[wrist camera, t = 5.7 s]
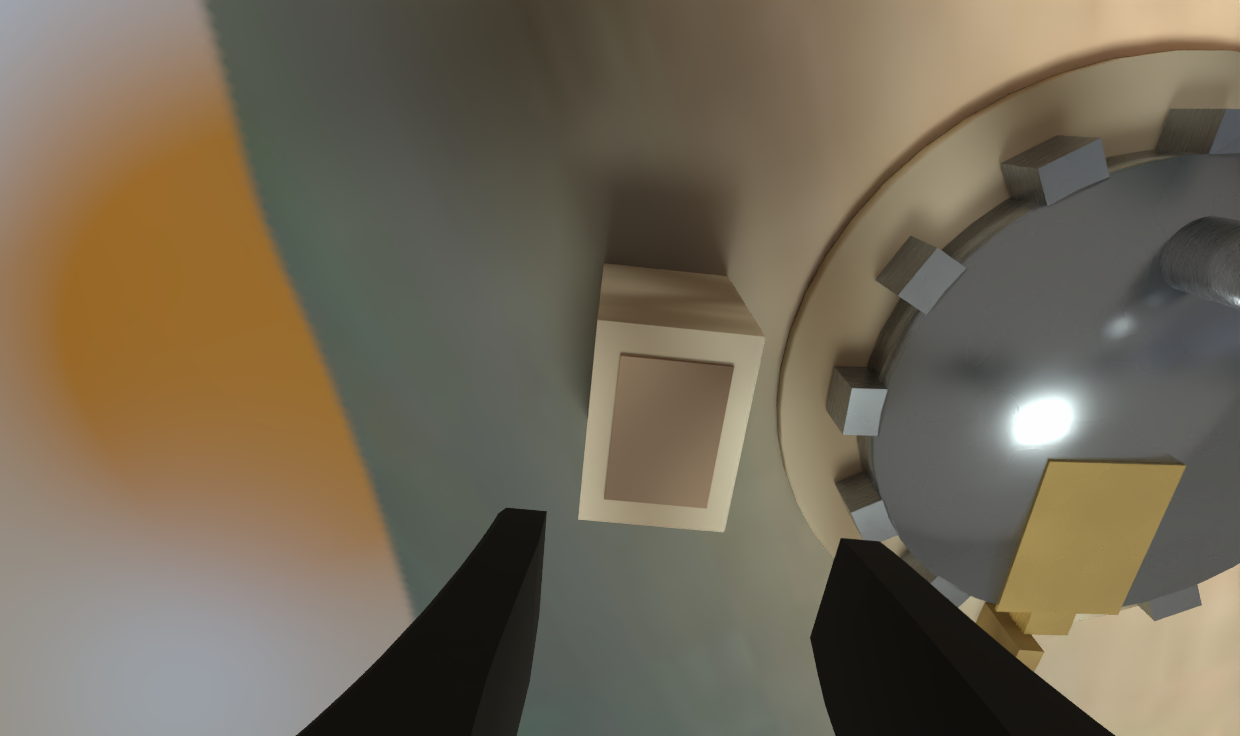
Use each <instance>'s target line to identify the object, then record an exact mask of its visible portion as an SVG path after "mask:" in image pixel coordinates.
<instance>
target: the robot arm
mask: <svg viewBox="0 0 1240 736" xmlns="http://www.w3.org/2000/svg"><path fill="white" fill-rule="evenodd" d="M546 514H547V511H537V510H526V509H515V508H505V509H504V510H503V511H501V512H500V513H498V515H497V517H496V518H495V520H494V522H493V523H492V525H491V526H490V528H489V529H488V530H487V532H486V533H485V535H484V536H483V538H482V539H481V540H480V542H479V543H478V545H477V546H476V547H475V549H474V550H473V551H472V553H471V554H470V555H469V556H468V558H467V559H466V560H465V562H464V563H463V564H462V566H461V567H460V568H459V569H458V571H457V572H456V573H455V574H454V575H453V577H452V578H451V579H450V580H449V581H448V583H447V584H446V585H445V586H444V587H443V589H442V590H441V591H440V592H439V593H438V595H437V596H436V597H435V598H434V599H433V600H432V602H431V603H430V604H429V605H428V606H427V607H426V609H425V610H424V611H423V612H422V613H421V614H420V615H419V616H418V617H417V618H416V620H415V621H414V622H413V623H412V624H411V625H410V626H409V627H408V628H407V629H406V630H405V631H404V632H403V633H402V634H401V636H400V637H399V638H398V639H397V640H396V641H395V642H394V643H393V644H392V645H391V646H390V647H389V648H388V649H387V650H386V652H385V653H384V654H383V655H382V656H381V657H380V658H379V659H378V660H377V661H376V662H375V663H374V664H373V665H372V666H371V667H370V668H369V669H368V670H367V671H366V672H365V673H364V674H363V675H362V676H361V677H360V678H359V679H358V680H357V681H356V682H354V683H353V684H352V685H351V687H349V688H348V689H347V690H346V691H345V692H344V693H343V694H342V695H341V696H340V697H339V698H338V699H336V700H335V701H334V702H333V703H332V704H331V705H330V706H329V707H328V708H327V709H325V710H324V711H323V712H322V713H321V714H320V715H319V716H318V717H317V718H316V719H315V720H313V721H312V722H311V723H310V724H309V725H308V726H307V727H306V728H304V729H303V730H302V731H301V732H300V733H299V734H298V735H296V736H517V732H518V727H519V723H520V719H521V715H522V711H523V707H524V703H525V699H526V694H527V690H528V686H529V682H530V675H531V668H532V661H533V655H534V648H535V641H536V634H537V626H538V619H539V610H540V596H541V582H542V569H543V555H544V541H545V528H546ZM810 639H811V644H812V648H813V653H814V658H815V663H816V668H817V672H818V677H819V681H820V685H821V689H822V694H823V698H824V702H825V706H826V709H827V712H828V715H829V718H830V721H831V724H832V727H833V729H834V732H835V735H836V736H1115V735H1114V734H1112V733H1111V732H1110V731H1108V730H1107V729H1106V728H1104V727H1103V726H1102V725H1100V724H1099V723H1098V722H1096V721H1095V720H1094V719H1093V718H1091V717H1090V716H1089V715H1087V714H1086V713H1085V712H1084V711H1082V710H1081V709H1080V708H1079V707H1077V706H1076V705H1075V704H1073V703H1072V702H1071V701H1070V700H1068V699H1067V698H1066V697H1065V696H1063V695H1062V694H1061V693H1060V692H1058V691H1057V690H1056V689H1054V688H1053V687H1052V686H1051V685H1049V684H1048V683H1047V682H1046V681H1044V680H1043V679H1042V678H1041V677H1039V676H1038V675H1037V674H1036V673H1035V672H1033V671H1032V670H1031V669H1030V668H1028V667H1027V666H1026V665H1025V664H1024V663H1022V662H1021V661H1020V660H1019V659H1017V658H1016V657H1015V656H1014V655H1013V654H1011V653H1010V652H1009V651H1008V650H1007V649H1006V648H1004V647H1003V646H1002V645H1001V644H1000V643H998V642H997V641H996V640H995V639H994V638H993V637H991V636H990V635H989V634H988V633H987V632H986V631H984V630H983V629H982V628H981V627H980V626H978V625H977V624H976V623H975V622H974V621H973V620H972V619H970V618H969V617H968V616H967V615H966V614H965V613H963V612H962V611H961V610H960V609H959V608H958V607H957V606H955V605H954V604H953V603H952V602H951V601H950V600H949V599H947V598H946V597H945V596H944V595H943V594H942V593H941V592H939V591H938V590H937V589H936V588H935V587H934V586H933V585H931V584H930V583H929V582H928V581H927V580H926V579H925V578H923V577H922V576H921V575H920V574H919V573H918V572H916V571H915V570H914V569H913V568H912V567H911V566H910V565H908V564H907V563H906V562H905V561H904V560H902V559H901V558H900V557H899V556H898V555H896V554H895V553H894V552H893V551H892V550H890V549H889V548H888V547H886V546H885V545H884V544H883V543H881V542H880V541H870V540H859V539H848V538H841V539H840V542H839V545H838V548H837V552H836V555H835V558H834V561H833V565H832V568H831V571H830V575H829V578H828V581H827V584H826V588H825V591H824V594H823V597H822V601H821V604H820V607H819V611H818V614H817V617H816V620H815V624H814V627H813V630H812V633H811V637H810Z"/></svg>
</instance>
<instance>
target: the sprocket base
mask: <svg viewBox="0 0 1240 736" xmlns="http://www.w3.org/2000/svg"><path fill="white" fill-rule="evenodd" d="M1170 109H1240V52H1237V51H1230V50H1179V51H1169V52H1159V53H1152V54H1145V55H1138V56H1131V57H1124V58H1117V59H1110V60H1106V61H1102V62H1099V63H1095V64H1092V65H1088V66H1084V67H1081V68H1077V69H1074V70H1070V71H1066V72H1063V73H1059V74H1057V75H1054V76H1052V77H1049V78H1047V79H1045V80H1042V81H1040V82H1037V83H1035V84H1032V85H1030V86H1028V87H1025V88H1023V89H1020V90H1018V91H1016V92H1013V93H1011V94H1009V95H1007V96H1005V97H1003V98H1002V99H1000V100H998V101H996V102H994V103H993V104H991V105H989V106H987V107H985V108H984V109H982V110H980V111H978V112H976V113H975V114H973V115H971V116H969V117H967V118H966V119H964V120H963V121H961V122H960V123H958V124H957V125H955V126H954V127H953V128H951V129H950V130H948V131H947V132H946V133H944V134H943V135H941V136H940V137H939V138H937V139H936V140H934V141H933V142H932V143H930V144H929V145H927V146H926V147H925V148H923V149H922V150H921V151H920V152H918V153H917V154H916V155H915V156H914V157H913V158H912V159H911V160H910V161H908V162H907V163H906V164H905V165H904V166H903V167H902V168H901V169H899V170H898V171H897V172H896V173H895V174H894V175H893V176H892V177H890V178H889V179H888V180H887V181H886V182H885V183H884V184H883V185H882V186H881V187H880V188H879V190H878V191H877V192H876V193H875V194H874V195H873V196H872V197H871V198H870V200H869V201H868V202H867V203H866V204H865V205H864V206H863V207H862V208H861V210H860V211H859V212H858V213H857V214H856V215H855V216H854V217H853V218H852V220H851V221H850V223H849V224H848V226H847V227H846V228H845V230H844V231H843V233H842V234H841V235H840V237H839V238H838V240H837V241H836V242H835V244H834V245H833V247H832V248H831V249H830V251H829V252H828V254H827V255H826V257H825V258H824V260H823V262H822V264H821V266H820V268H819V269H818V271H817V273H816V275H815V277H814V278H813V280H812V282H811V284H810V286H809V288H808V289H807V291H806V293H805V295H804V298H803V300H802V303H801V305H800V308H799V310H798V313H797V315H796V318H795V321H794V323H793V326H792V328H791V331H790V334H789V338H788V342H787V346H786V350H785V354H784V358H783V362H782V366H781V371H780V380H779V390H778V399H777V418H778V439H779V444H780V449H781V454H782V459H783V465H784V469H785V472H786V474H787V477H788V480H789V483H790V485H791V488H792V491H793V494H794V496H795V499H796V501H797V503H798V505H799V508H800V509H801V511H802V513H803V515H804V517H805V518H806V520H807V522H808V524H809V526H810V527H811V529H812V531H813V533H814V534H815V535H816V537H817V538H818V539H819V541H820V542H821V543H822V544H823V546H824V547H825V548H826V549H827V551H828V552H829V553H830V554H831V556H832V557H833V558H835V555H836V552H837V548H838V545H839V542H840V539H841V538H848V539H859V540H863V539H862V537H861V535H860V534H859V532H858V530H857V528H856V526H855V525H854V523H853V521H852V519H851V517H850V516H849V513H848V511H847V509H846V507H845V505H844V503H843V501H842V499H841V497H840V494H839V492H838V490H837V488H836V486H835V484H834V483H837V482H839V481H841V480H844V479H846V478H849V477H851V476H853V475H856V474H858V473H860V472H863V469H862V465H861V460H860V454H859V448H858V443H857V435H842V433H841V432H840V430H839V429H838V427H837V426H836V424H835V423H834V421H833V420H832V418H831V417H830V415H829V414H828V412H827V411H826V406H827V401H828V395H829V390H830V384H831V379H832V373H833V368H834V366H847V367H867V364H868V361H869V358H870V356H871V354H872V351H873V349H874V347H875V344H876V342H877V339H878V337H879V335H880V332H881V331H882V329H883V327H884V325H885V324H886V322H887V320H888V318H889V317H890V315H891V313H892V311H893V310H894V308H895V306H896V305H897V303H898V302H899V300H900V299H901V297H899V296H898V295H896V294H895V293H893V292H892V291H890V290H889V289H887V288H886V287H884V286H883V285H881V284H880V283H879V282H877V281H876V280H875V279H876V278H877V277H878V275H879V274H880V273H881V272H882V270H883V269H884V268H885V267H886V265H887V264H888V263H889V262H890V260H891V259H892V258H893V257H894V255H895V254H896V253H897V252H898V250H899V249H900V248H901V247H902V245H903V244H904V243H905V242H906V240H907V239H908V238H909V237H910V236H912V237H915V238H917V239H919V240H921V241H924V242H926V243H928V244H930V245H933V246H935V247H937V248H939V249H940V250H942V249H943V248H944V247H945V246H946V245H947V244H949V243H950V242H951V241H952V240H953V239H954V238H955V237H957V236H958V235H959V234H960V233H961V232H962V231H964V230H965V229H966V228H967V227H968V226H969V225H970V224H972V223H973V222H974V221H976V220H977V219H979V218H980V217H982V216H983V215H984V214H986V213H987V212H989V211H990V210H992V209H993V208H994V207H996V206H997V205H999V204H1000V203H1002V202H1003V201H1005V200H1007V199H1008V198H1010V196H1009V192H1008V189H1007V185H1006V182H1005V178H1004V174H1003V171H1002V167H1001V164H1000V163H1002V162H1004V161H1006V160H1008V159H1010V158H1012V157H1014V156H1016V155H1018V154H1020V153H1022V152H1024V151H1026V150H1028V149H1030V148H1032V147H1034V146H1036V145H1038V144H1040V143H1042V142H1044V141H1046V140H1048V139H1050V138H1052V137H1054V136H1056V135H1063V136H1079V137H1095V138H1101V140H1102V145H1103V149H1104V154H1105V158H1107V157H1110V156H1116V155H1122V154H1128V153H1134V152H1140V151H1146V150H1156V147H1157V144H1158V141H1159V139H1160V136H1161V133H1162V130H1163V127H1164V124H1165V122H1166V119H1167V116H1168V113H1169V110H1170ZM881 543H883V544H884V545H885V546H886V547H888V548H889V549H890V550H892V551H893V552H894V553H895V554H896V555H898V556H899V557H900V558H902V557H903V556H904V555H905V554H906V553H907V552H908V551H909V550H908V548H907V547H906V546H905V545H904V543H903V542H902V541H901V540H900V538H899V537H898V535H897V536H894V537H892V538H889V539H887V540H884V541H882V542H881ZM1135 606H1138V605H1137V604H1134V605H1129V606H1124V607H1121V609H1120V611H1121V610H1124V609H1128V608H1132V607H1135ZM995 607H996V604H992V603H989V602H986V601H983V600H980V599H977V598H974V597H972V596H970V597H969V598H968V599H967V600H966V601H965V602H964V603H963V604H962V605H961V606H960V607H958V608H959V609H960V610H961V611H962V612H963V613H965V614H966V615H967V616H968V617H969V618H970V619H972V620H973V621H974V622H975V623H976V624H977V625H978V626H980V627H981V628H982V629H983V630H984V631H986V632H987V633H988V634H989V635H990V636H991V637H993V638H994V639H995V640H996V641H997V642H998V643H1000V644H1001V645H1002V646H1003V647H1004V648H1006V649H1007V650H1008V651H1009V652H1010V653H1011V654H1013V655H1014V656H1015V657H1016V658H1017V659H1019V660H1020V661H1021V662H1022V663H1024V664H1025V665H1026V666H1027V667H1028V668H1030V669H1031V670H1032V671H1033V672H1034V671H1035V669H1036V667H1037V665H1038V663H1039V661H1040V659H1041V657H1042V655H1043V653H1044V651H1043V650H1042V648H1041V647H1040V646H1039V644H1038V643H1037V642H1036V641H1035V639H1034V638H1033V637H1032V635H1031V634H1023V633H1022V631H1021V630H1020V629H1019V627H1018V626H1017V625H1016V623H1015V622H1014V621H1013V620H1012V618H1011V617H1010V616H1009V614H1008V613H1007V612H996V610H995ZM1103 615H1107V614H1076V616H1075V618H1074V621H1077V620H1083V619H1088V618H1093V617H1099V616H1103Z"/></svg>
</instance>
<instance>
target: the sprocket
mask: <svg viewBox="0 0 1240 736" xmlns="http://www.w3.org/2000/svg"><path fill="white" fill-rule="evenodd" d="M1000 164H1001V167H1002V171H1003V174H1004V178H1005V182H1006V185H1007V189H1008V192H1009V196H1010V198H1008V199H1007V200H1005V201H1003V202H1002V203H1000V204H999V205H997V206H996V207H994V208H993V209H992V210H990V211H989V212H987V213H986V214H984V215H983V216H982V217H980V218H979V219H977V220H976V221H974V222H973V223H972V224H970V225H969V226H968V227H967V228H966V229H965V230H964V231H962V232H961V233H960V234H959V235H958V236H957V237H955V238H954V239H953V240H952V241H951V242H950V243H949V244H947V245H946V246H945V247H944V248H943V249H942V250H940V249H939V248H937V247H935V246H933V245H930V244H928V243H926V242H924V241H921V240H919V239H917V238H915V237H912V236H910V237H909V238H908V239H907V240H906V242H905V243H904V244H903V245H902V247H901V248H900V249H899V250H898V252H897V253H896V254H895V255H894V257H893V258H892V259H891V260H890V262H889V263H888V264H887V265H886V267H885V268H884V269H883V270H882V272H881V273H880V274H879V275H878V277H877V278H876V279H875V280H876V281H877V282H879V283H880V284H881V285H883V286H884V287H886V288H887V289H889V290H890V291H892V292H893V293H895V294H896V295H898V296H899V297H901V299H900V300H899V302H898V303H897V305H896V306H895V308H894V310H893V311H892V313H891V315H890V317H889V318H888V320H887V322H886V324H885V325H884V327H883V329H882V331H881V332H880V335H879V337H878V339H877V342H876V344H875V347H874V349H873V351H872V354H871V356H870V358H869V361H868V364H867V367H847V366H834V368H833V373H832V379H831V384H830V390H829V395H828V401H827V406H826V411H827V412H828V414H829V415H830V417H831V418H832V420H833V421H834V423H835V424H836V426H837V427H838V429H839V430H840V432H841V433H842V435H857V443H858V448H859V454H860V460H861V465H862V469H863V472H860V473H858V474H856V475H853V476H851V477H849V478H846V479H844V480H841V481H839V482H837V483H834V484H835V486H836V488H837V490H838V492H839V494H840V497H841V499H842V501H843V503H844V505H845V507H846V509H847V511H848V513H849V516H850V517H851V519H852V521H853V523H854V525H855V526H856V528H857V530H858V532H859V534H860V535H861V537H862V539H863V540H870V541H880V542H882V541H884V540H887V539H889V538H892V537H894V536H897V535H898V537H899V538H900V540H901V541H902V542H903V543H904V545H905V546H906V547H907V548H908V550H909V551H908V552H907V553H906V554H905V555H904V556H903V557H902V558H901V559H902V560H904V561H905V562H906V563H907V564H908V565H910V566H911V567H912V568H913V569H914V570H915V571H916V572H918V573H919V574H920V575H921V576H922V577H923V578H925V579H926V580H927V581H928V582H929V583H930V584H931V585H933V586H934V587H935V588H936V589H937V590H938V591H939V592H941V593H942V594H943V595H944V596H945V597H946V598H947V599H949V600H950V601H951V602H952V603H953V604H954V605H955V606H957V607H960V606H961V605H962V604H963V603H964V602H965V601H966V600H967V599H968V598H969V597H970V596H972V597H974V598H977V599H980V600H983V601H986V602H989V603H992V604H996V607H995V610H996V612H1007V613H1008V614H1009V616H1010V617H1011V618H1012V620H1013V621H1014V622H1015V623H1016V625H1017V626H1018V627H1019V629H1020V630H1021V631H1022V633H1023V634H1036V635H1068V633H1069V630H1070V628H1071V626H1072V623H1073V621H1074V618H1075V616H1076V614H1109V615H1118V614H1119V612H1120V609H1121V607H1124V606H1129V605H1134V604H1137V605H1138V606H1139V607H1140V608H1141V609H1142V610H1143V611H1145V612H1146V613H1147V614H1148V615H1149V616H1150V617H1151V618H1152V619H1153V620H1154V621H1156V620H1159V619H1162V618H1165V617H1168V616H1171V615H1174V614H1177V613H1180V612H1183V611H1186V610H1189V609H1191V608H1194V607H1197V606H1200V605H1202V604H1201V600H1200V595H1199V590H1198V586H1197V584H1198V583H1201V582H1203V581H1205V580H1208V579H1210V578H1212V577H1214V576H1216V575H1218V574H1220V573H1222V572H1224V571H1226V570H1228V569H1230V568H1232V567H1234V566H1236V565H1237V564H1239V563H1240V109H1170V110H1169V113H1168V116H1167V119H1166V122H1165V124H1164V127H1163V130H1162V133H1161V136H1160V139H1159V141H1158V144H1157V147H1156V150H1146V151H1140V152H1134V153H1128V154H1122V155H1116V156H1110V157H1107V158H1105V154H1104V149H1103V145H1102V140H1101V138H1095V137H1079V136H1063V135H1056V136H1054V137H1052V138H1050V139H1048V140H1046V141H1044V142H1042V143H1040V144H1038V145H1036V146H1034V147H1032V148H1030V149H1028V150H1026V151H1024V152H1022V153H1020V154H1018V155H1016V156H1014V157H1012V158H1010V159H1008V160H1006V161H1004V162H1002V163H1000Z"/></svg>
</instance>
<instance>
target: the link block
mask: <svg viewBox="0 0 1240 736" xmlns="http://www.w3.org/2000/svg"><path fill="white" fill-rule="evenodd" d="M765 338H766V337H765V335H764V334H763V332H762V330H761V329H760V327H759V326H758V324H757V322H756V321H755V319H754V318H753V316H752V314H751V313H750V311H749V310H748V308H747V306H746V305H745V303H744V302H743V300H742V298H741V297H740V295H739V294H738V292H737V290H736V289H735V287H734V286H733V284H732V283H731V281H730V279H729V278H728V276H721V275H711V274H702V273H692V272H683V271H673V270H664V269H654V268H645V267H635V266H626V265H616V264H607V263H604V267H603V275H602V284H601V293H600V302H599V311H598V320H597V330H596V341H595V351H594V361H593V372H592V382H591V393H590V403H589V413H588V424H587V434H586V444H585V455H584V465H583V476H582V486H581V496H580V507H579V517H578V519H579V520H591V521H602V522H613V523H625V524H636V525H647V526H659V527H670V528H681V529H693V530H704V531H715V532H724V531H725V526H726V521H727V517H728V512H729V507H730V503H731V498H732V493H733V488H734V484H735V479H736V474H737V470H738V465H739V460H740V455H741V451H742V446H743V441H744V437H745V432H746V427H747V422H748V418H749V413H750V408H751V404H752V399H753V394H754V389H755V385H756V380H757V375H758V371H759V366H760V361H761V356H762V352H763V347H764V342H765Z"/></svg>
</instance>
